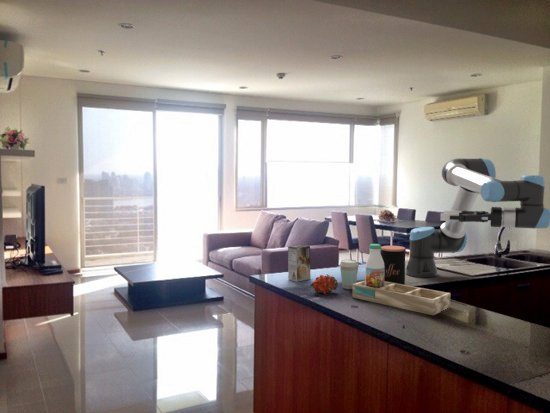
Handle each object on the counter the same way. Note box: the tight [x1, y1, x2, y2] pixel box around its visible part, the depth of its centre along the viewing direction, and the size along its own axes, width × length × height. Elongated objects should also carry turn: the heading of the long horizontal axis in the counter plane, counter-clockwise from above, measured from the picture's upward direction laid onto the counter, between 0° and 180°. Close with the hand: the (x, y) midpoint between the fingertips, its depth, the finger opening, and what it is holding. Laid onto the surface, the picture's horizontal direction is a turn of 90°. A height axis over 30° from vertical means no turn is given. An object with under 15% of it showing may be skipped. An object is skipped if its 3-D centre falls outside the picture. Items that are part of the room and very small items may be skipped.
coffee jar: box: [380, 245, 406, 285], centre depth 210 cm, size 11×11×18 cm
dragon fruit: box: [310, 274, 339, 295], centre depth 202 cm, size 8×8×12 cm
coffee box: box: [287, 244, 311, 282], centre depth 228 cm, size 9×6×16 cm
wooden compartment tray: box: [351, 280, 451, 316], centre depth 187 cm, size 14×35×6 cm, turn 45°
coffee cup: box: [339, 258, 360, 290], centre depth 211 cm, size 8×9×12 cm
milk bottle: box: [364, 243, 385, 288], centre depth 194 cm, size 8×8×20 cm
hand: (442, 215), depth 187 cm, fingers open, 13 cm apart
